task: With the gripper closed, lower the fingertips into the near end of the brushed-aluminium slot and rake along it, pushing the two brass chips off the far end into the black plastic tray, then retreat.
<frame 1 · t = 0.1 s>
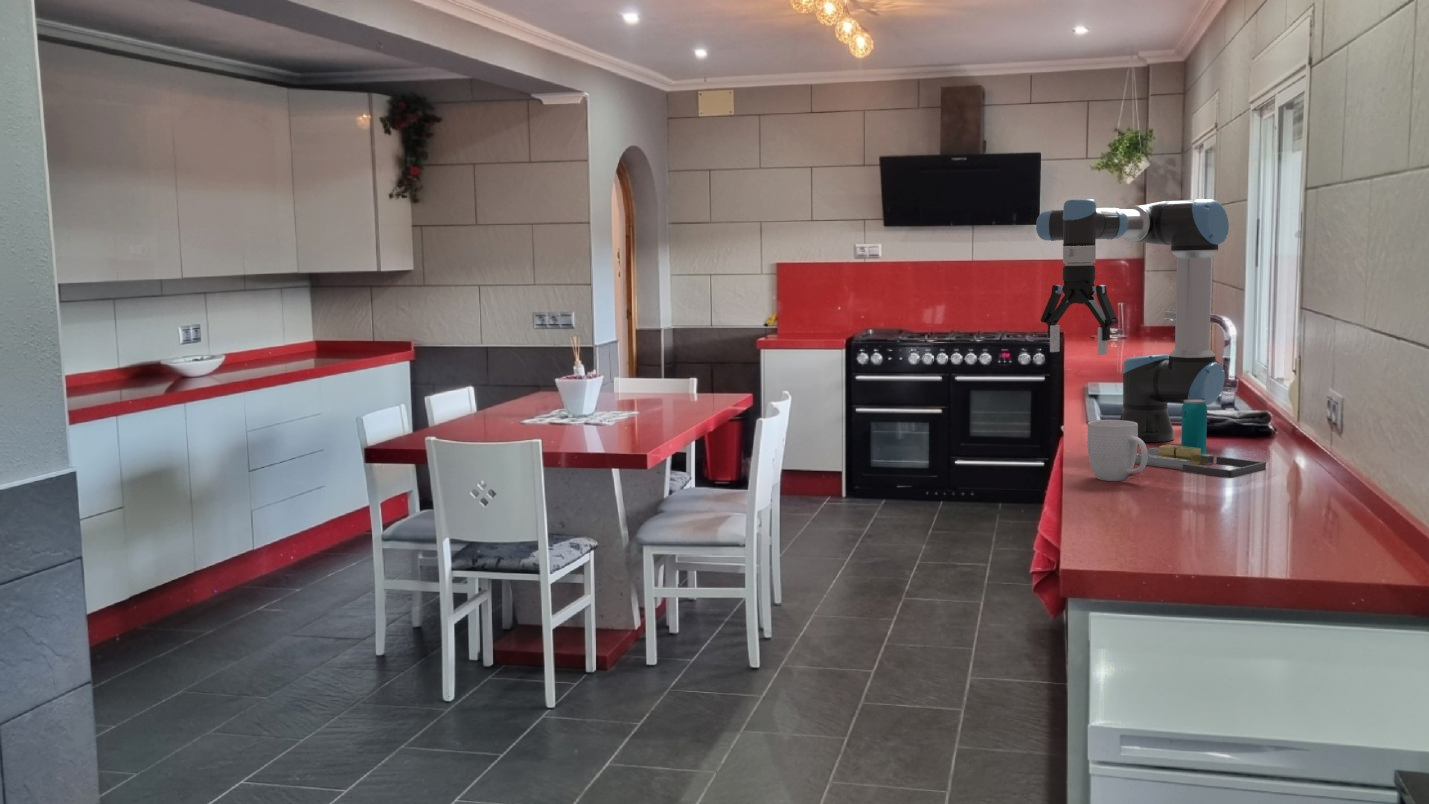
hand: (1078, 353, 296), 28 cm above the table, fingers open, 13 cm apart
tray: (1223, 476, 283), on the table
beverage can: (1193, 461, 304), on the table
mug: (1115, 480, 283), on the table
chip a: (1170, 462, 294), point 1 cm above the table, touching slot board
slot board: (1168, 468, 294), on the table
chip b: (1187, 465, 290), point 1 cm above the table, touching slot board
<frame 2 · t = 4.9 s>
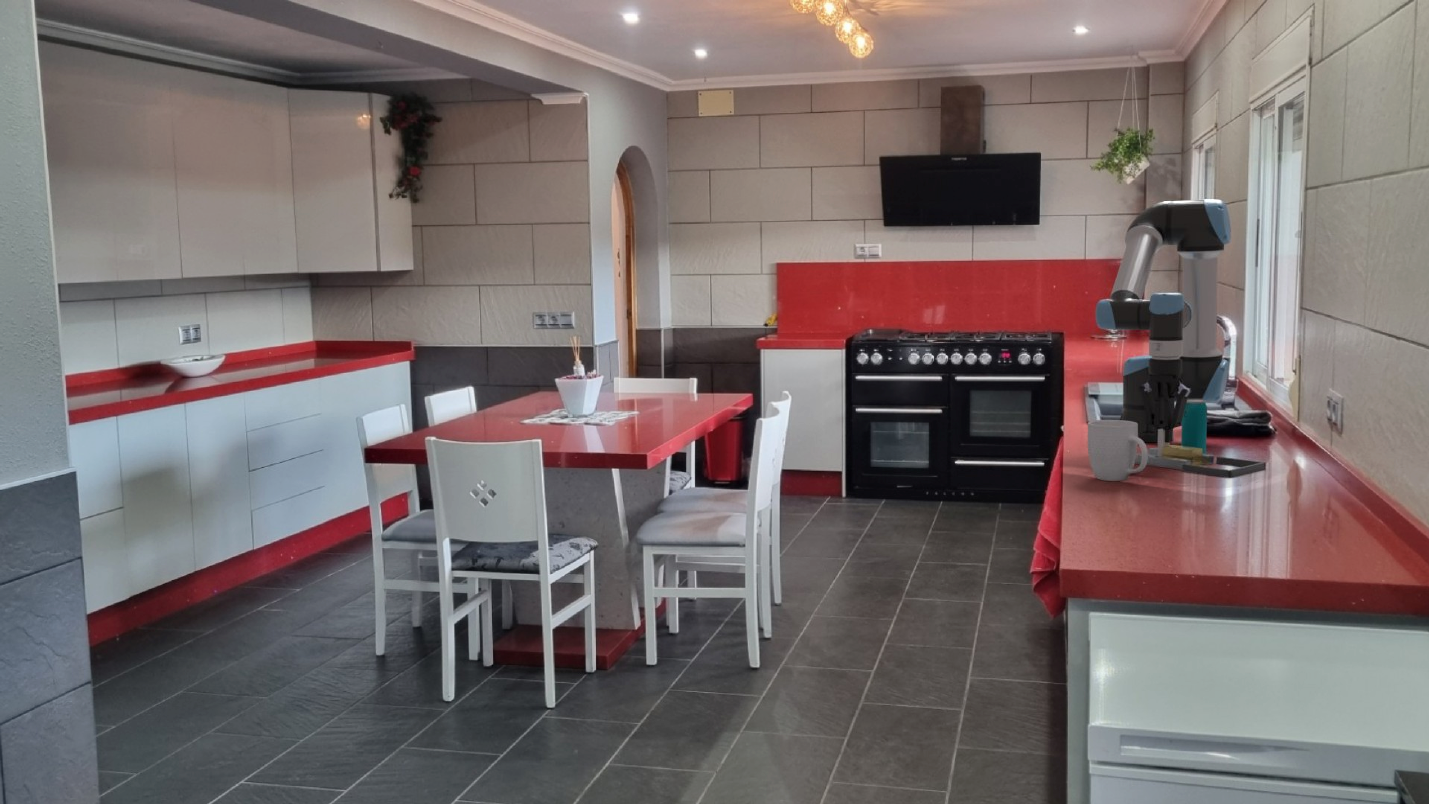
hand: (1163, 455, 295), 3 cm above the table, fingers closed
chip a: (1173, 463, 293), point 2 cm above the table, touching gripper
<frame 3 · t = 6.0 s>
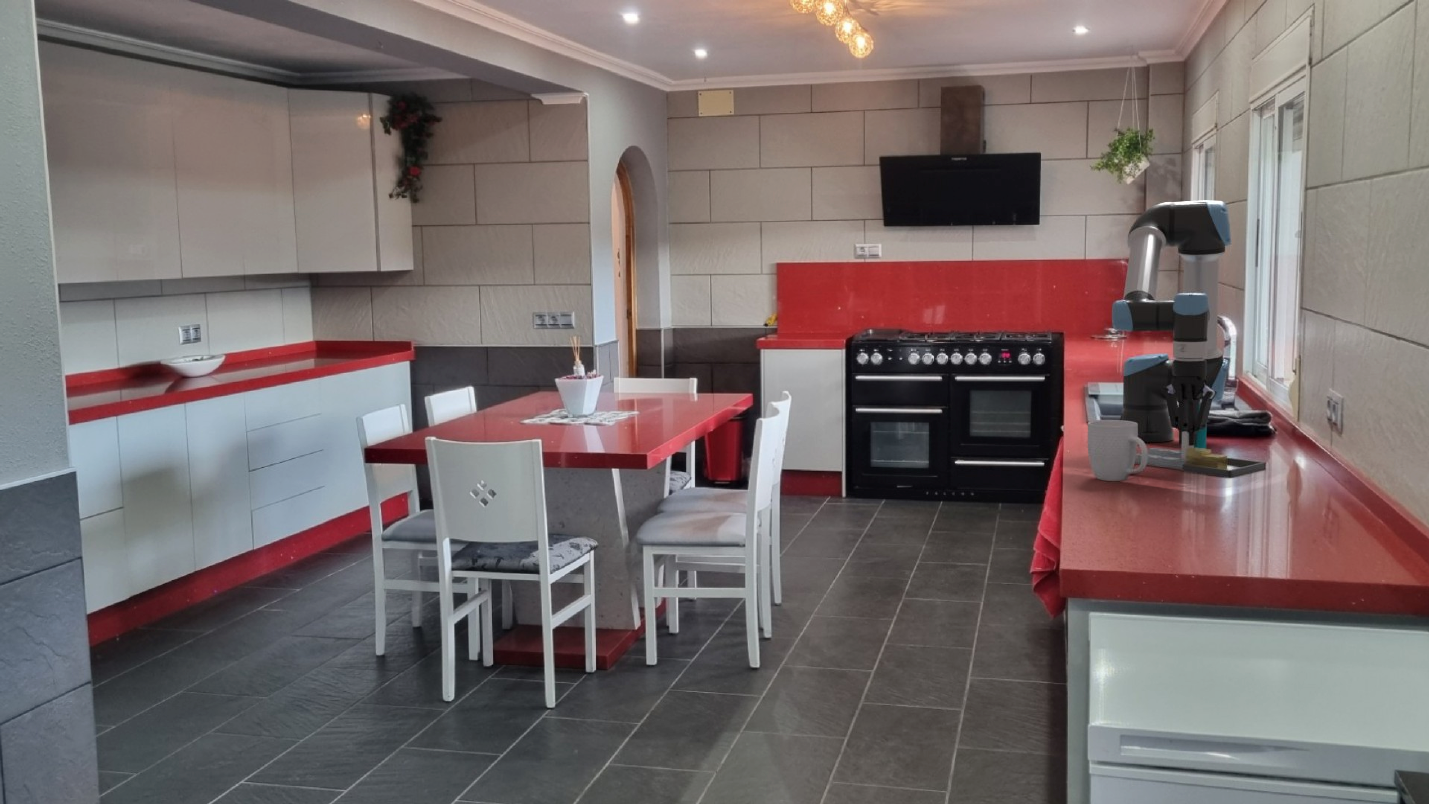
hand: (1187, 458, 290), 3 cm above the table, fingers closed
chip a: (1198, 466, 288), point 2 cm above the table, touching chip b, gripper
chip b: (1214, 472, 285), point 1 cm above the table, touching chip a, tray
everything else where it was.
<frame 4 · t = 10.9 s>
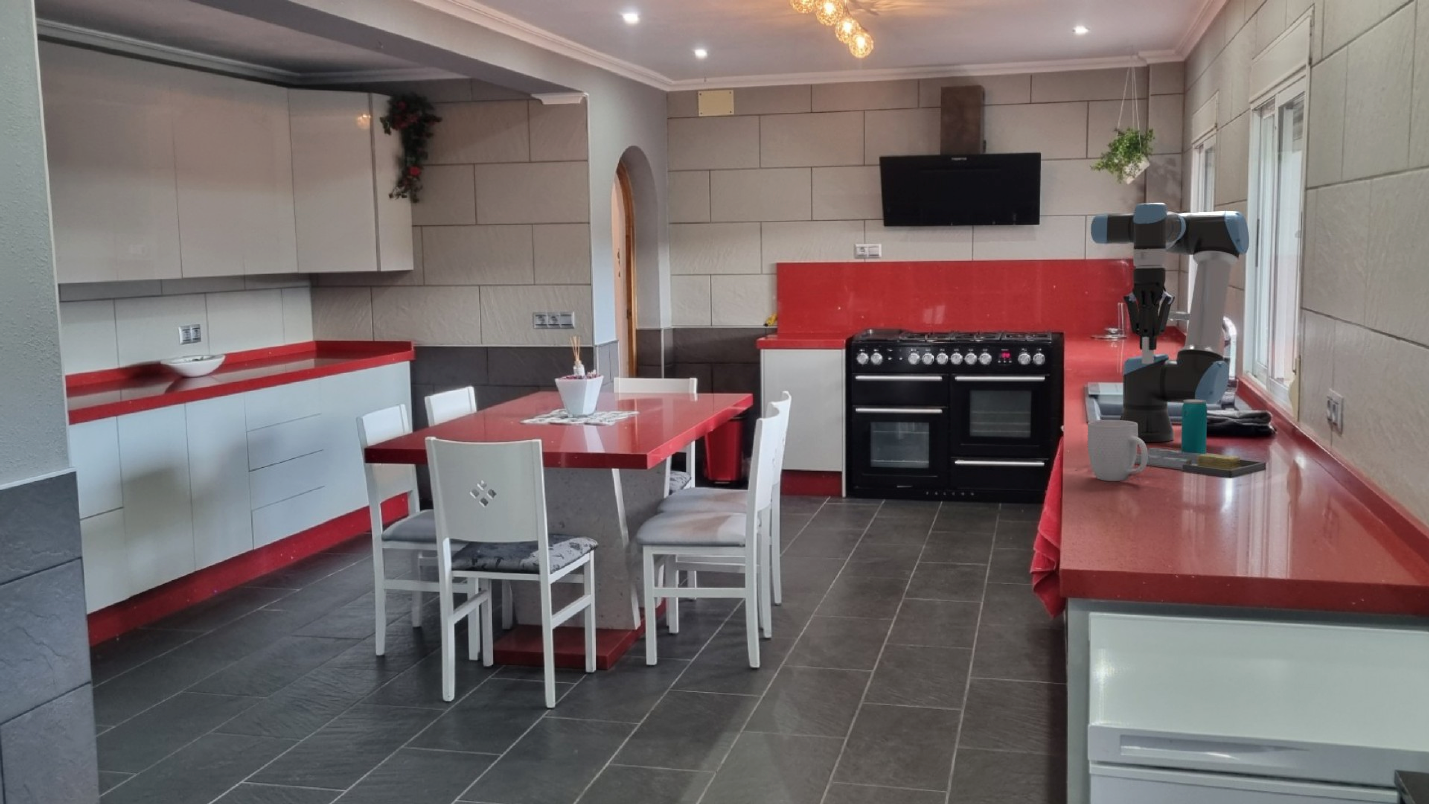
hand: (1147, 363, 303), 24 cm above the table, fingers closed
chip a: (1210, 472, 286), resting on tray
chip b: (1226, 474, 283), resting on tray
everything else where it was.
at the end: chip a inside the target area on the tray (3.3 cm from its centre), point 0.5 cm above the tray's base; chip b inside the target area on the tray (0.8 cm from its centre), point 0.5 cm above the tray's base; chip a touching tray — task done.
